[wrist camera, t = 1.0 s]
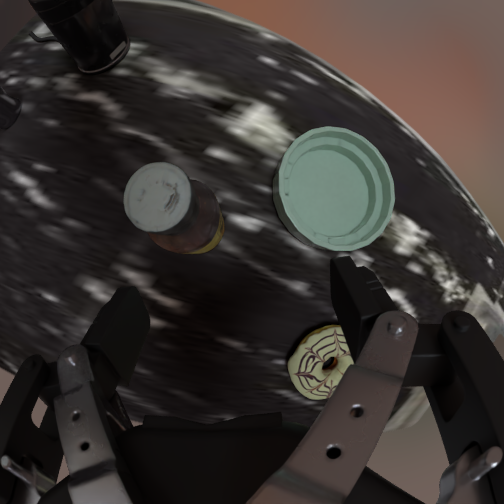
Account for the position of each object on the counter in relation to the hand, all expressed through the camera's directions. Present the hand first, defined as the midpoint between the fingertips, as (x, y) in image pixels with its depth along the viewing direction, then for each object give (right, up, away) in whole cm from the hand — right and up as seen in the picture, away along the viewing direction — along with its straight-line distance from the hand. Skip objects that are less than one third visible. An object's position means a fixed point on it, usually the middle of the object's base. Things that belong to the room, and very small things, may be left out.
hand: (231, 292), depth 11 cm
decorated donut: (+11, -13, +25) cm, 30 cm away
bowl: (+11, +9, +24) cm, 28 cm away
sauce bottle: (-6, +5, +23) cm, 24 cm away
